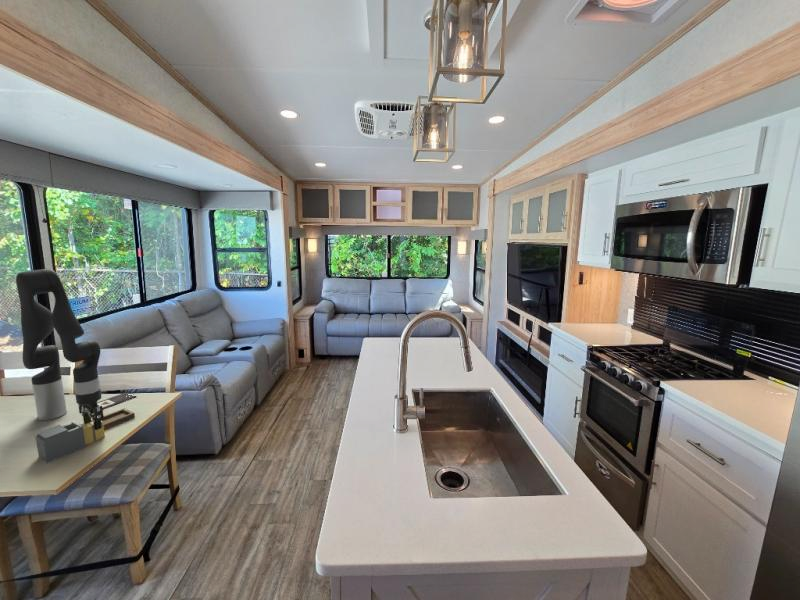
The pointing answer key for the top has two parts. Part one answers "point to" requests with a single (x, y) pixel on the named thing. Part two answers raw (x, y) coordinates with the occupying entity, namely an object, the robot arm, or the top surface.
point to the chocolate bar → (115, 400)
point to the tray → (116, 418)
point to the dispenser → (60, 441)
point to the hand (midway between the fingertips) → (93, 426)
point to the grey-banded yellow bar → (92, 432)
